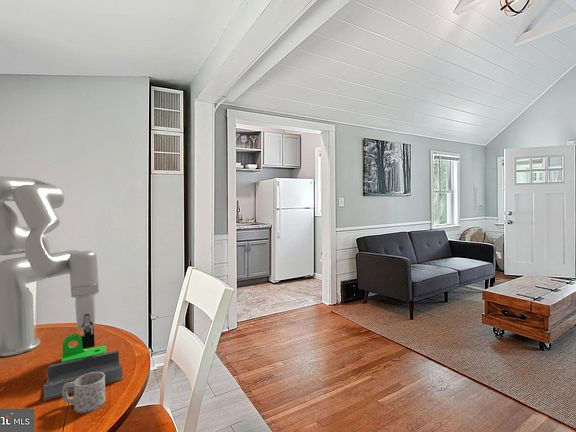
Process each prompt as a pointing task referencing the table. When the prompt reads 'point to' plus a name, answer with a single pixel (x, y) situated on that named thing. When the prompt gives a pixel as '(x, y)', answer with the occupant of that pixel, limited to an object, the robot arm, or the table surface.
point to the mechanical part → (78, 349)
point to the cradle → (81, 372)
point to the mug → (86, 392)
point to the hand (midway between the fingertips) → (88, 342)
